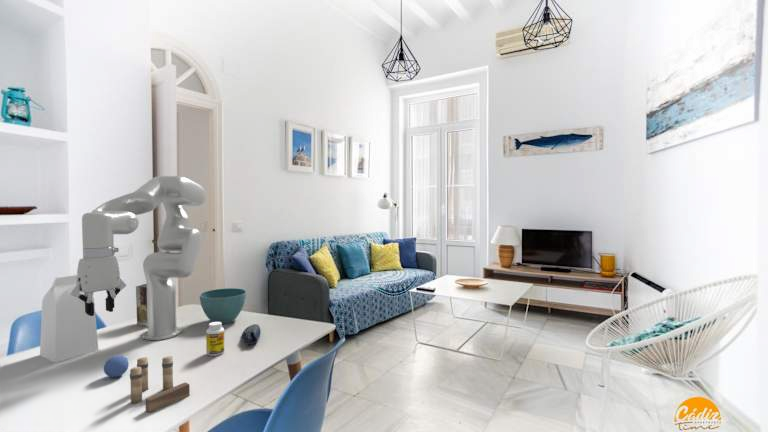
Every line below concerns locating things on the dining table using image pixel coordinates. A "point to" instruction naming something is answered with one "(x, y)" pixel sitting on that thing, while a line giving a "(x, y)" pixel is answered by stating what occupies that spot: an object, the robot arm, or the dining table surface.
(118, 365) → the ball
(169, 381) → the back left pin
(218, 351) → the supplement bottle
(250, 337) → the fish model
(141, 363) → the front pin
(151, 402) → the back wall
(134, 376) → the back right pin
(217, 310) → the teal bowl
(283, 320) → the dining table surface
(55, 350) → the milk
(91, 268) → the robot arm
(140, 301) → the coffee box
